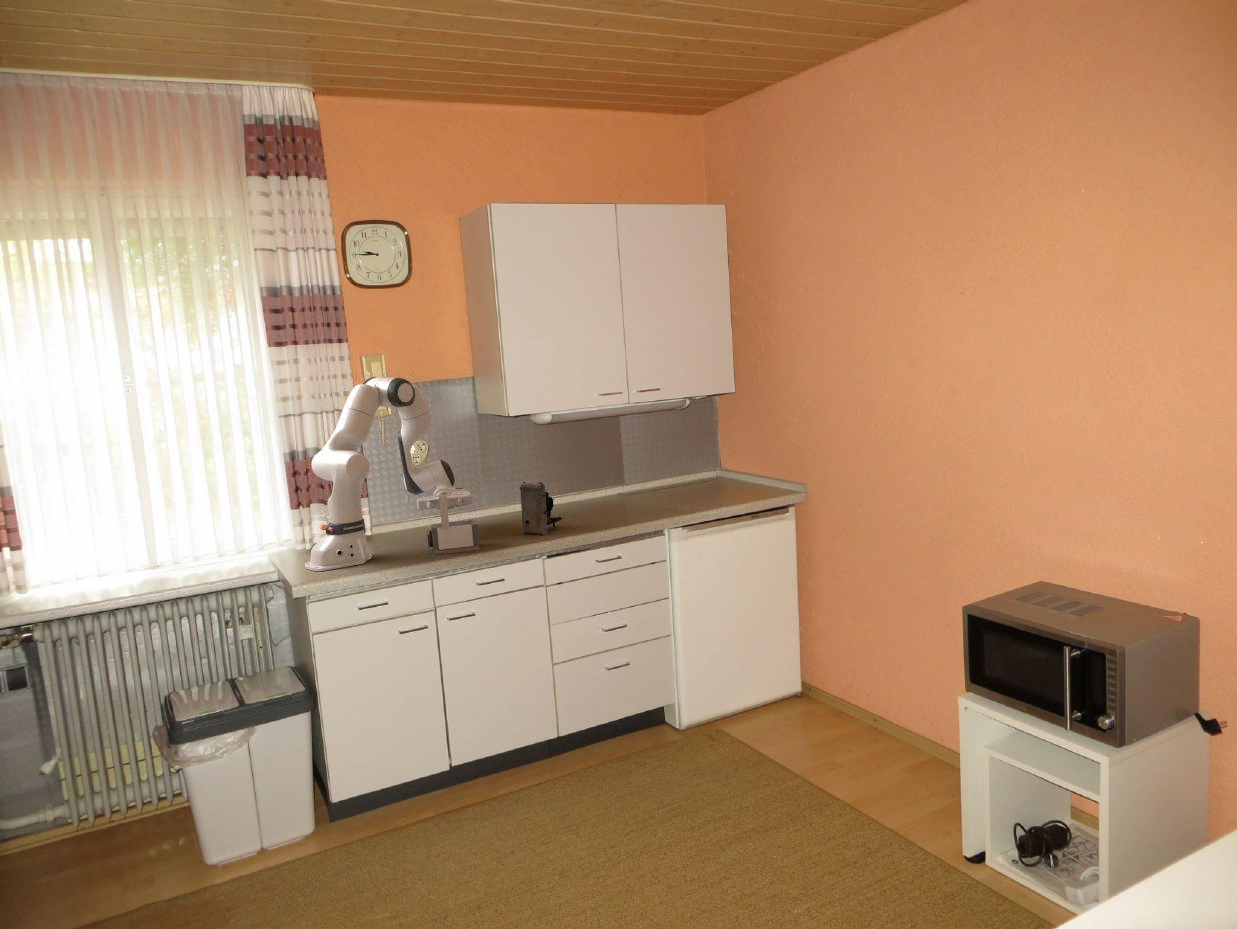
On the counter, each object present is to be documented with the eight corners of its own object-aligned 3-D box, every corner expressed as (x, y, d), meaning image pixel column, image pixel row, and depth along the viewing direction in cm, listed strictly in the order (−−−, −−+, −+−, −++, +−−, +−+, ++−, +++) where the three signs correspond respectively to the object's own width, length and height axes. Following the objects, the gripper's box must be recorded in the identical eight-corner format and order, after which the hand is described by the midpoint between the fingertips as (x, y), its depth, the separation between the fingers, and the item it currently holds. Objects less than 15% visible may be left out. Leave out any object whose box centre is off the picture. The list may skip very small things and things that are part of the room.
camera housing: (429, 555, 316) (426, 527, 314) (429, 549, 325) (426, 522, 324) (479, 549, 319) (477, 522, 317) (478, 543, 328) (476, 517, 327)
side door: (439, 550, 316) (433, 497, 313) (439, 548, 318) (433, 496, 315) (473, 546, 318) (468, 493, 315) (473, 545, 320) (468, 493, 317)
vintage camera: (566, 528, 347) (562, 477, 345) (543, 535, 334) (539, 482, 332) (545, 527, 352) (542, 477, 350) (522, 535, 339) (518, 482, 337)
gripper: (415, 493, 339) (414, 499, 325) (470, 487, 342) (471, 493, 329) (417, 509, 340) (416, 516, 326) (472, 503, 343) (473, 510, 330)
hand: (444, 504), depth 327 cm, fingers open, 8 cm apart
